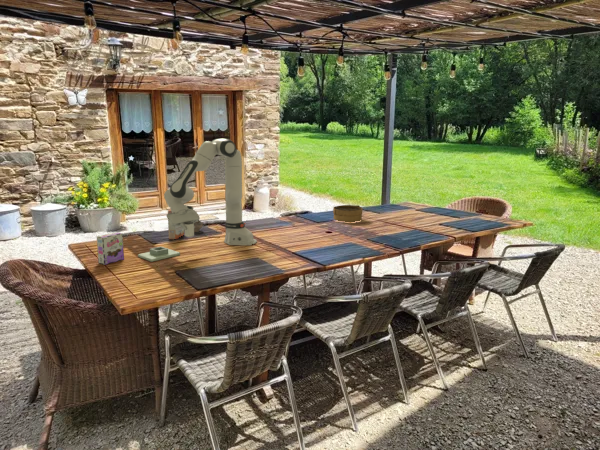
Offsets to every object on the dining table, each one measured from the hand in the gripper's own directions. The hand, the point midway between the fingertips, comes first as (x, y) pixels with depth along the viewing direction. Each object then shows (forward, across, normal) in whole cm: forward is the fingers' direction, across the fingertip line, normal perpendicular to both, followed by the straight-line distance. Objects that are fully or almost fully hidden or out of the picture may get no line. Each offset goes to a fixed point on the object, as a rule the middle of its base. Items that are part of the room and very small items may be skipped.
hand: (189, 228), depth 291 cm
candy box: (-4, -42, +26) cm, 49 cm away
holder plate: (+4, -16, +19) cm, 25 cm away
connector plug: (+3, 0, +4) cm, 5 cm away
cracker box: (-19, +18, +42) cm, 49 cm away
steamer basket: (+21, +153, +6) cm, 154 cm away
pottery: (-27, +40, +51) cm, 70 cm away
